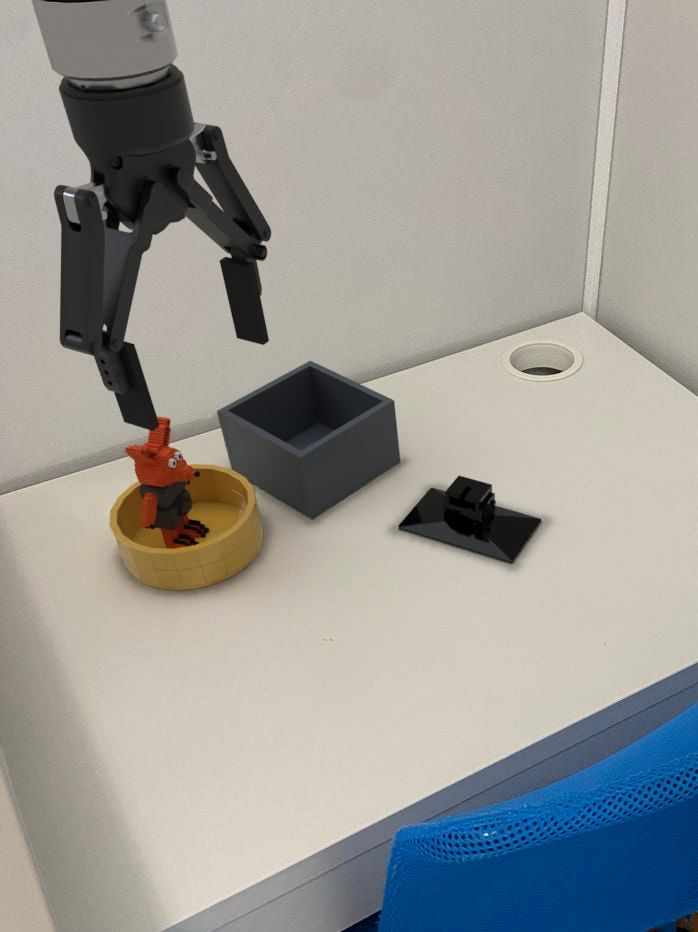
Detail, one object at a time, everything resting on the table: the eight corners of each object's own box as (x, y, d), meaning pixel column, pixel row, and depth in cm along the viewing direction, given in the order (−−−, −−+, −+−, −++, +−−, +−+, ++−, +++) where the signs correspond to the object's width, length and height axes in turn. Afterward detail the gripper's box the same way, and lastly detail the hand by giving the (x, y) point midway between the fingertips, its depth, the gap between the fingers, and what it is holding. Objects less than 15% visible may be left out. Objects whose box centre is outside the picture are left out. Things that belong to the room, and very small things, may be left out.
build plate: (397, 530, 92) (392, 492, 89) (432, 489, 96) (429, 451, 93) (512, 564, 88) (511, 525, 84) (543, 520, 92) (544, 481, 89)
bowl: (96, 549, 91) (80, 512, 87) (207, 484, 98) (196, 448, 94) (180, 610, 84) (166, 573, 81) (292, 536, 91) (284, 500, 88)
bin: (232, 472, 99) (216, 410, 94) (320, 420, 105) (310, 360, 100) (312, 520, 93) (300, 457, 88) (400, 462, 100) (394, 400, 94)
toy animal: (200, 570, 88) (166, 465, 79) (148, 562, 89) (108, 456, 80) (236, 518, 93) (208, 413, 84) (187, 510, 94) (154, 406, 85)
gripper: (9, 146, 49) (128, 479, 64) (286, 25, 64) (329, 318, 79) (-91, 126, 51) (47, 452, 66) (199, 15, 66) (256, 300, 82)
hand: (200, 379), depth 73 cm, fingers open, 13 cm apart
